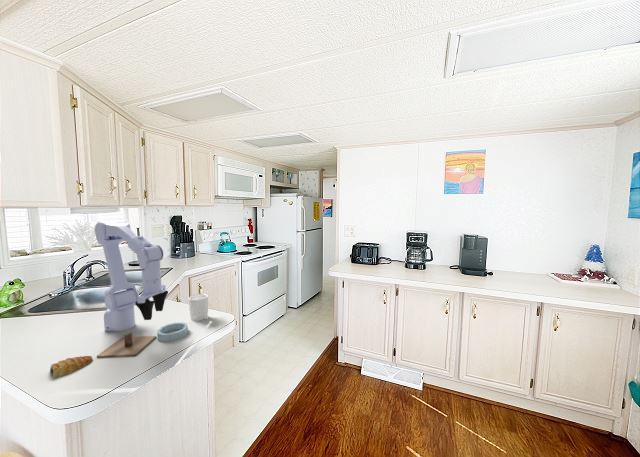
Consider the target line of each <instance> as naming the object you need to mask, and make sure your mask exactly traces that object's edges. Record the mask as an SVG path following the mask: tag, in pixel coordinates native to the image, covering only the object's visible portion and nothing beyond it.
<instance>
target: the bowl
mask: <svg viewBox="0 0 640 457" xmlns="http://www.w3.org/2000/svg"><path fill="white" fill-rule="evenodd" d="M175 330H177V331H175ZM171 331H175V332H171ZM156 332H157V333H156V338H157V340H158V341H160V342H172V341H175V340H179V339H182V338H183V337H185V336H186V335H187V334H188V333H189V327H188V324H187V323H186V322H183V321H182V322H180V321H177V322H173V323H168V324H164V325H163V326H161V327H159V328H158V329H157V330H156ZM168 332H169V333H168Z"/></svg>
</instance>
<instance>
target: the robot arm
mask: <svg viewBox="0 0 640 457" xmlns="http://www.w3.org/2000/svg"><path fill="white" fill-rule="evenodd" d="M94 234H95V238H96V241H97V244H99V245H101V246H102V249H103V253H104V257H105V261H106V265H107V266H106V267H107V271H108V273H109V279H110V282H111V285H110V286H109V287H108V288H107V289H106V290H105V291H104V305H105V307H106V310H105V312H104V315H103V323H104V324H103V327H104V331H105V332H106V331H111V332H113V331H114V332H123V331H126V330H130V329H132V328H134V327H135V326H136V316H135V306H136V307H137V308H138V309H139V312H140V313H141V315H142V318H143V320H144V321H150V320H152V317H153V308H154V309H155V311H156V312H162V311H163V309H164V305H165V301H166V299H167V297H168V294H169V291H168V290H166V284H162V275H161V261H162V260H163V259H164V250H163V248H162V247H161V245H159V244H156V245H155V244H153V243H150V242H149V241H148V240H147V239H146V238H144V236H142V235H136V234H135V232H133V230H132V229H131V224H130V223H129V222H128V221H127V220H125V219H123V220H112V221H111V220H110V221H100V220H99V221H98V222H97V223H96V224H95V226H94ZM124 241H125V242H127V247H128V248H129V249H130V251H132V252H133V253H134V254H136V259H137V261H138V264H139V268H140V269H141V278H142V279H141V282H142V292H141V294H140V293H139V291H138V290H137V288H136V287H137V286H136V285H135V284H133V283H132V282H129V281H128V279H127V275H126V272H125V268H124V263H123V258H122V253H121V249H120V246H119V245H120V243H123V242H124ZM151 298H152V300H150V299H151Z"/></svg>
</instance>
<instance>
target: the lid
mask: <svg viewBox="0 0 640 457" xmlns="http://www.w3.org/2000/svg"><path fill="white" fill-rule="evenodd" d="M156 339H157V335H148V336H147V335H146V336H145V335H143V336H141V335H140V336H133V333H132V332H126V333H124V334H123V336H122V337H120V339H118V340H116V341H115V342H114V343H112V344H111V345H110V346H109V347H107V348H106V349H104V350H103V351H101V352H100V353H99V354H97V355H96V358H97V359H100V358H101V357H105V358H126V356H129V357H137V356H138V355H139V354H140V353H141V352H143V350H145V349H146V346H147V345H148V346H149V345H150V344H151V343H152V342H153V341H154V340H156ZM148 346H147V347H148ZM137 354H138V355H137ZM136 355H137V356H136Z"/></svg>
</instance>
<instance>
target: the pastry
mask: <svg viewBox="0 0 640 457" xmlns="http://www.w3.org/2000/svg"><path fill="white" fill-rule="evenodd" d="M93 359H94V358H93V356H91V355H84V356H82V355H80V356H75V357H67V358H66V359H62V360H59V361H57V362H56V363H52V364H51V365H50V367H49V372H50V373H51V374H52V377H51V378H52V379H55V378H60V377H63V376H67V375H69V374H72V373H74V372H76V371H78V370H80V369H82V368H84V367H86V366H88V365H90V364H91V363H92V362H93V361H94V360H93Z"/></svg>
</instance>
